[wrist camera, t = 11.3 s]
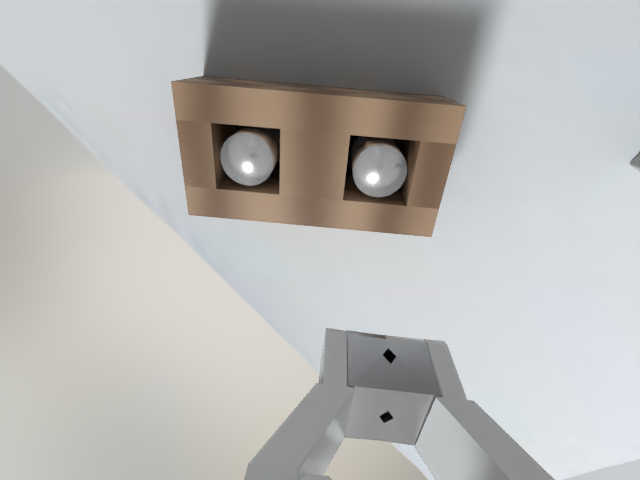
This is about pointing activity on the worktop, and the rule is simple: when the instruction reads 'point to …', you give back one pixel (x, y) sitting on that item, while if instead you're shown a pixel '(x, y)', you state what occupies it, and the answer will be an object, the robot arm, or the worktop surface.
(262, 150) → the steel peg
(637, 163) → the skincare box
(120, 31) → the worktop surface
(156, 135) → the worktop surface
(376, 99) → the walnut block
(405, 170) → the steel peg
